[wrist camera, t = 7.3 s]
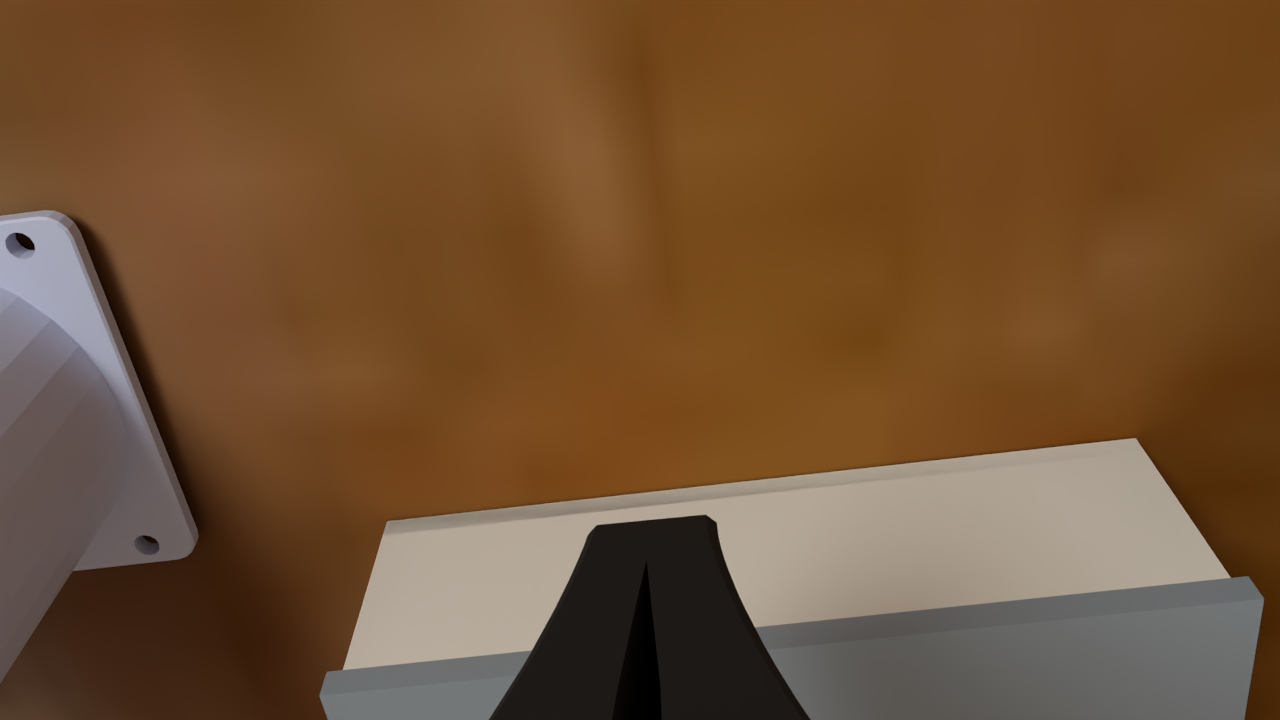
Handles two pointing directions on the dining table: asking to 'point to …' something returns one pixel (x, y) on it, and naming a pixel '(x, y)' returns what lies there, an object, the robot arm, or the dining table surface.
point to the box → (802, 547)
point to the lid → (936, 662)
